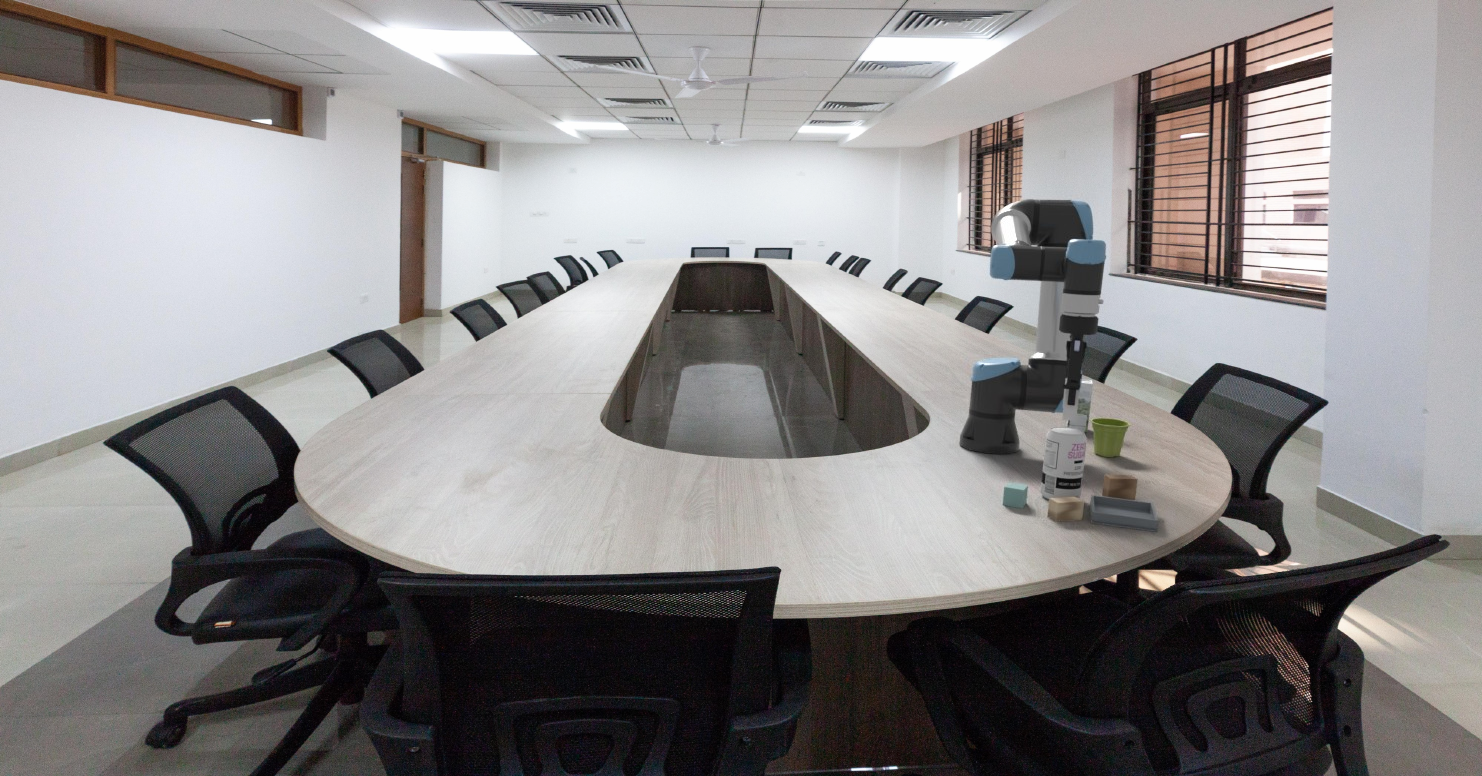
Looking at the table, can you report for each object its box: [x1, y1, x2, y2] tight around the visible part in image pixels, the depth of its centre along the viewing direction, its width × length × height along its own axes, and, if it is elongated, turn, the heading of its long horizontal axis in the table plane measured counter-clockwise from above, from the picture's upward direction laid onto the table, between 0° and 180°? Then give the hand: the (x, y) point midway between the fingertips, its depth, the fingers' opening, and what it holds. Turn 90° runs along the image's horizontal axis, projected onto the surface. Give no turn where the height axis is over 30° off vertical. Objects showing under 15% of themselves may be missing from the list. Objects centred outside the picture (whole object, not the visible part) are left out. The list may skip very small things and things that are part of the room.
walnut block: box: [1101, 473, 1139, 500], centre depth 196 cm, size 6×3×5 cm, turn 91°
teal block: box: [1002, 482, 1029, 509], centre depth 190 cm, size 4×4×4 cm
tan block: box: [1047, 497, 1085, 522], centre depth 182 cm, size 6×3×4 cm, turn 105°
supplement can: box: [1039, 425, 1088, 500], centre depth 194 cm, size 8×8×15 cm
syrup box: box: [1066, 378, 1094, 433], centre depth 258 cm, size 6×6×14 cm
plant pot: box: [1090, 417, 1131, 458], centre depth 232 cm, size 9×9×9 cm
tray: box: [1089, 494, 1159, 533], centre depth 183 cm, size 12×12×2 cm
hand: (1069, 414), depth 192 cm, fingers open, 13 cm apart
